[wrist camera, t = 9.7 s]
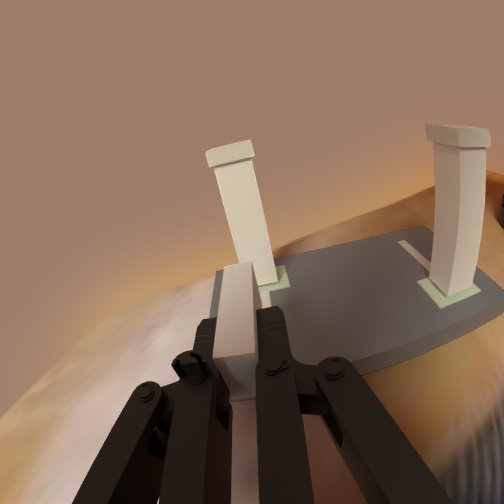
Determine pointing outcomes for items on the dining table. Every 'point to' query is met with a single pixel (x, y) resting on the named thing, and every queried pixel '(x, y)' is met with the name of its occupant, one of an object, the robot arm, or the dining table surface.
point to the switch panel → (371, 301)
